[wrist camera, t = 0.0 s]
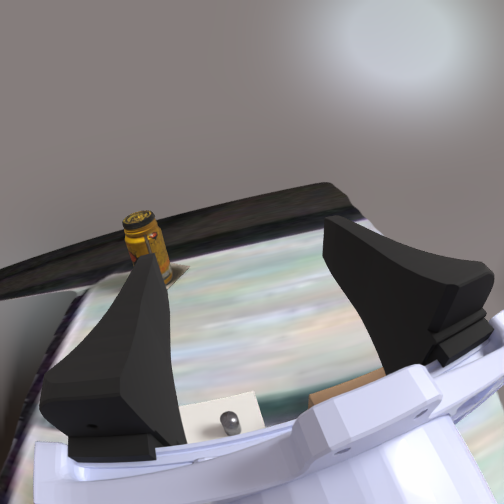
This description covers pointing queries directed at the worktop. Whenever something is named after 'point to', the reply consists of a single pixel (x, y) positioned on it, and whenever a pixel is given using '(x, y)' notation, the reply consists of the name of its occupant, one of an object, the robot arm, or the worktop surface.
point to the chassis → (221, 417)
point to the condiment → (150, 244)
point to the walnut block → (345, 387)
